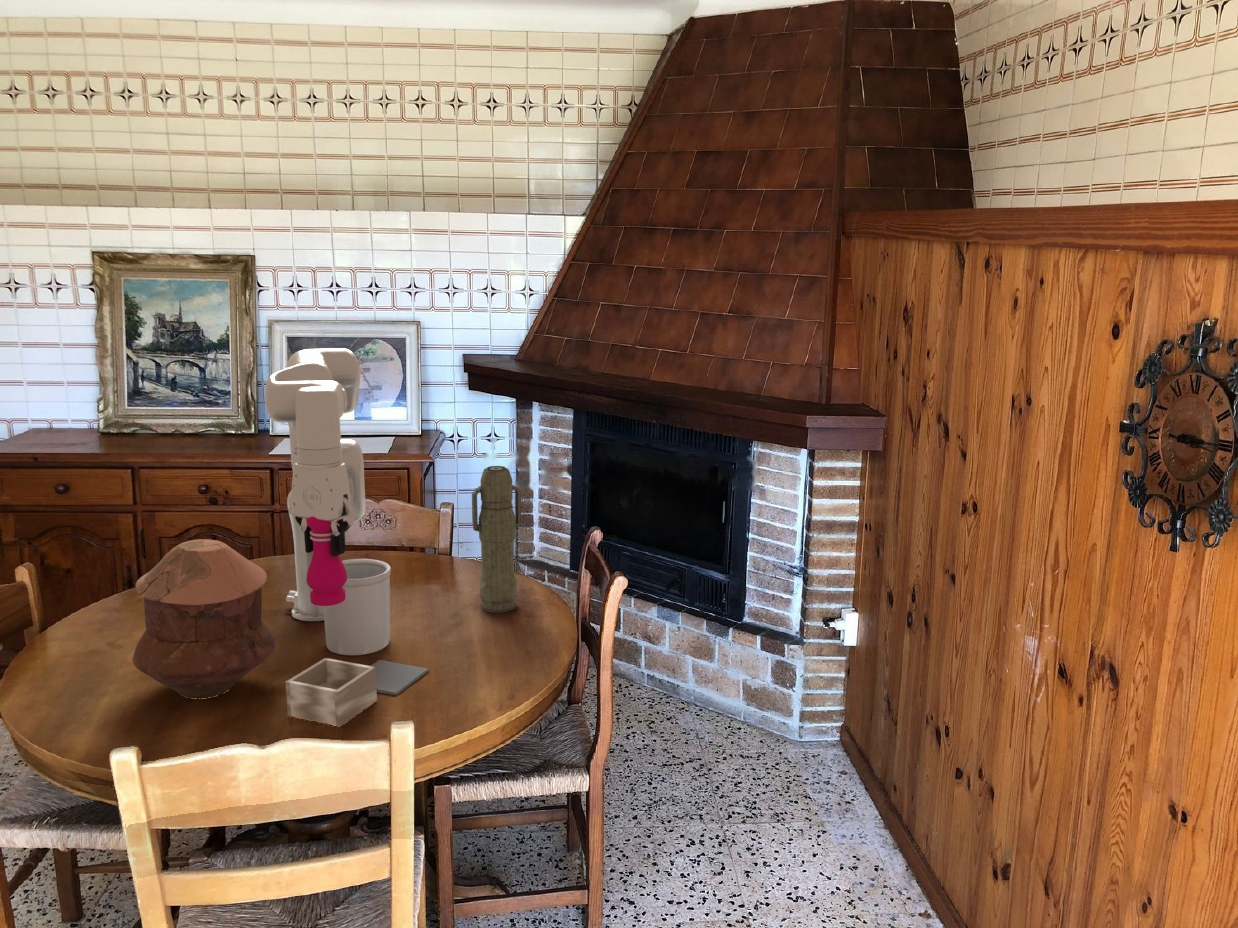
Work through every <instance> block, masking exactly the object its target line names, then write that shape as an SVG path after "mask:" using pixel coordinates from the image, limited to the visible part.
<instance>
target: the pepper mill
mask: <svg viewBox="0 0 1238 928" xmlns="http://www.w3.org/2000/svg"><path fill="white" fill-rule="evenodd" d="M339 521H340V520H338V521H337V523H338V526H339ZM306 523H307V525H308V526H309V527H310V528H311V529H312V530H311V531H310V534H311V536H310V539H311V540H313V556H312V560H311V562H310V565H309V568H308V571H307V580H306V581H307V584H308V586H309V587H310V588H311V589H312V591H311V592H310V599H311V603H312V604H314V605H318V606H331V605H336V604H339V603H341V602H343V601H344V600H345V599H346V594H345V589H344V588H343V586H344V584H345V583H346V581H347V571H346V569H345V566H344V564H343V562H342V561H343V560H342V559H341V556H340V555H338V556H336V557H333V556H332V555H331V536H332V535H334V534H333V531H332V528H331V521H323V520H320V519H317V518H316V517H310V518H306Z"/></svg>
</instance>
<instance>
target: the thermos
mask: <svg viewBox="0 0 1238 928" xmlns="http://www.w3.org/2000/svg"><path fill="white" fill-rule="evenodd" d="M479 480H480V481H479V482H480V486H478V487H475V488H474V490H473V492H472V493H471V519H472V530H473V531H475V532H478V538H479V540H480V553H481V557H480V558H481V577H480V579H479V598H480V608H481V610H483V611H484V610H485V612H487V613H494V614H495V613H497V614H500V613H507V612H510V611H513V610H514V609H516V607H517V602H516V601H517V600H516V599H517V589H518V588H517V579H516V576H515V547H514V546H515V542H514V541H515V539H516V531H517V528H518V527H520V525H522V491H521V489H520V488H519V487H518V486H517V485H515V484H513V478H512V475H511V472H510V469H509V468H508V467H506V466H502V465H491V466H487V467H486V468H484V469H483V471H482V474H481V477H480V479H479ZM513 491H515V492H514V493H515V494H514V496H515V497H514V498H515V500H514V502H515V513H514V510H513V509H514V508H513V506H514V505H513V499H514V498H513ZM479 493H480V501H481V505H480V512H479V516H478V495H479ZM515 606H516V607H515ZM509 610H510V611H509Z"/></svg>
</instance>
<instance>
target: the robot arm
mask: <svg viewBox="0 0 1238 928" xmlns="http://www.w3.org/2000/svg"><path fill="white" fill-rule="evenodd" d="M360 383H361V369H360V363H359V360H358V358H357V356H356V355H355V353H354V352H353V351H351V350H350V349H349V348H348V349H347V348H343V347H341V348H339V347H338V348H306V349H302V350H298V351H296V352H294V353H293V354H292V355H291V356H290V357H289V359H288V360H287V363H286V368H285V369H284V368H283V369H282V370H278V371H276V372H274V373H272V374H270V376H269V377H268V378H267V380H266V383H265V390H264V398H265V399H264V400H265V401H264V403H265V409H266V413H267V414H268V417H269V418H270V419H271V420H272V421H273V422H275V423H279V424H280V423H282V424H283V423H285V424H286V423H287V424H288V429H289V446H290V463H291V468H292V478H291V479H292V480H291V490H290V492H289V493H288V496H287V502H286V503H287V504H286V505H287V511H288V515H289V518H290V524H291V529H292V537H293V549H294V563H295V565H294V566H295V578H296V590H289V591H288V593H287V596H286V597H285V600H286V602H290V603H294V606H293V607H292V609H291V616H292V618H294V619H296V620H299V621H303V622H321V621H322V622H323V621H324V606H318V605H314V604H312V603H311V599H310V592H311V591H312V589H311V588H310V587H309V586H308V584H307V581H306V580H307V571H308V568H309V565H310V562H311V560H312V556H313V540H311V539H310V536H311V534H310V531H311V530H312V529H311V528H310V527H309V526H308V525H307V523H306V518H310V517H316V518H317V519H320V520H323V521H331V528H332V531H333V534H334V535H332V536H331V555H332V556H333V557H336V556H338V555H339V556H340V555H342V554H344V553H345V552H346V533H348V529H350V528H351V527H352V526H353V525H354V524H355V523H356V522H358V521H359V520H362V518H363V517H364V515H365V511H366V489H365V487H366V486H365V485H366V484H365V463H364V456H363V451H362V448H361V445H360V444H359V442H358V441H356V440H354V439H351V438H350V439H348V438H342V434H341V418H342V416H343V415H344V414H348V413H352V412H353V411H354V410H356V408H357V406H358V403H359V396H360V393H359V392H360ZM338 520H340V521H339V525H338V523H337V521H338Z"/></svg>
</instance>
